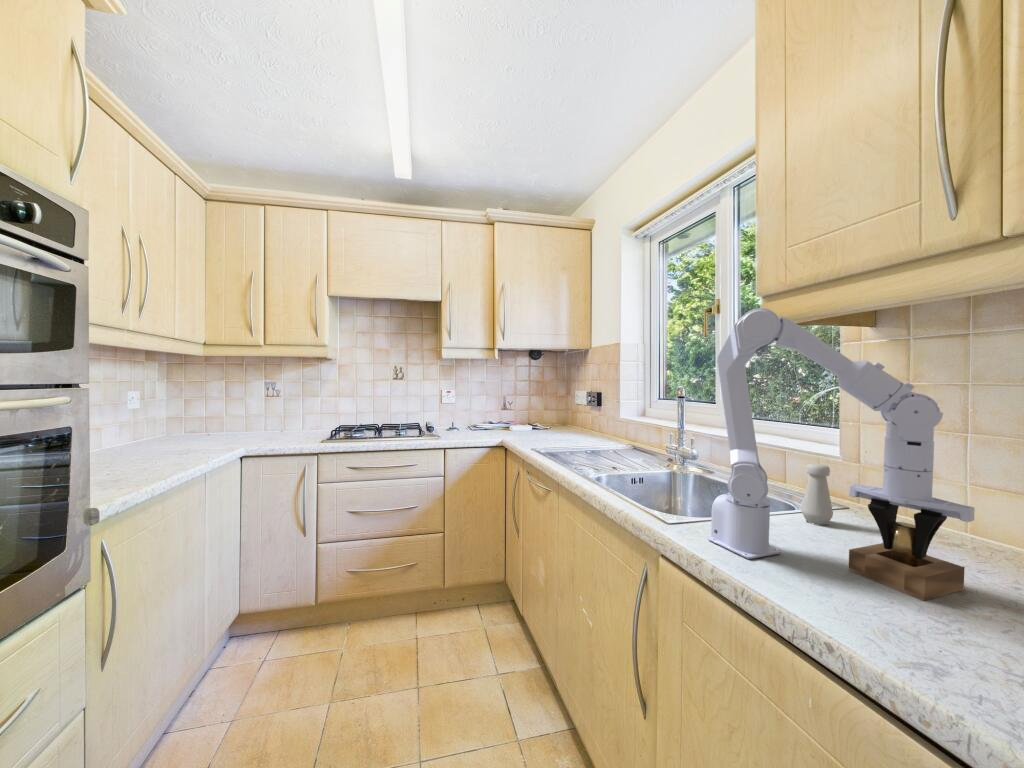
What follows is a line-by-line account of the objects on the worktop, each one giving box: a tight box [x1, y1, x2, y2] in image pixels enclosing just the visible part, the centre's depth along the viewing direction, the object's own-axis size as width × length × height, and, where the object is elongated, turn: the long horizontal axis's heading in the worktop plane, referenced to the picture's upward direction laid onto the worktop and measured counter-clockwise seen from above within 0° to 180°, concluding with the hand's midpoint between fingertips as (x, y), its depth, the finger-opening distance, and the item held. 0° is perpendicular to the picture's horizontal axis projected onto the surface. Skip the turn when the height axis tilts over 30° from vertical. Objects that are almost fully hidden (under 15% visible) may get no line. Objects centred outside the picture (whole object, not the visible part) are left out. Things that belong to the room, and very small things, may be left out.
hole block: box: [848, 542, 966, 602], centre depth 67 cm, size 10×10×4 cm
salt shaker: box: [800, 462, 834, 526], centre depth 93 cm, size 6×6×13 cm
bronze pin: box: [891, 521, 918, 567], centre depth 67 cm, size 3×3×6 cm
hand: (904, 552), depth 67 cm, fingers closed on bronze pin, 3 cm apart
